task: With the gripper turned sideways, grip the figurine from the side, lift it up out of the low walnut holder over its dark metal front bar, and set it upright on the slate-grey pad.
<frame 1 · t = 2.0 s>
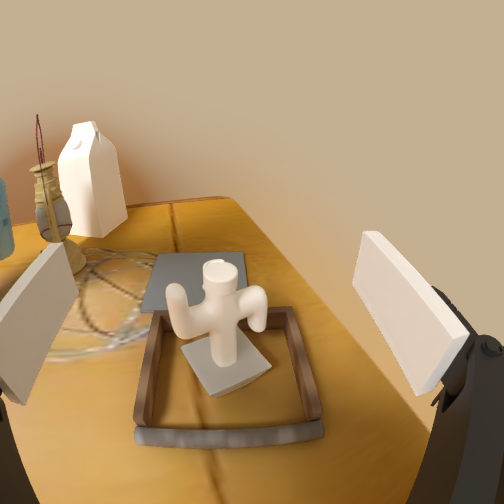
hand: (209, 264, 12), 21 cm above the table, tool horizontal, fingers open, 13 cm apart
lantern: (65, 267, 49), on the table
figurine: (225, 377, 31), resting in walnut holder
walnut holder: (225, 376, 31), on the table
milk: (98, 226, 65), on the table
slate pad: (197, 280, 47), on the table
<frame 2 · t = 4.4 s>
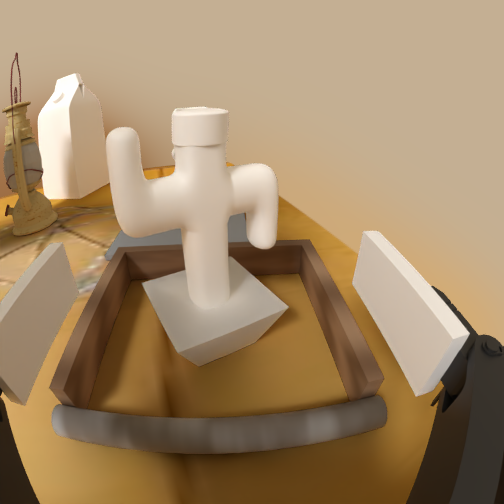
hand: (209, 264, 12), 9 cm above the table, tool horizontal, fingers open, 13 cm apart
lantern: (33, 225, 38), on the table
figurine: (213, 337, 20), resting in walnut holder
walnut holder: (213, 335, 20), on the table
milk: (78, 190, 55), on the table
slate pad: (183, 226, 37), on the table
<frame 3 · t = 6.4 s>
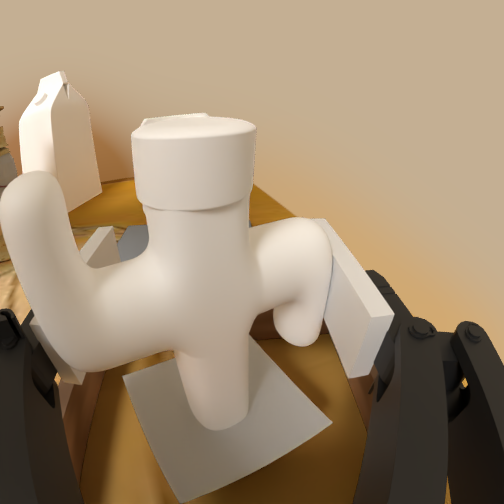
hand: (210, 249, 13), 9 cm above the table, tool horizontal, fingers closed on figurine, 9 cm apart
lantern: (12, 248, 32), on the table
figurine: (224, 437, 13), resting in walnut holder, touching gripper
walnut holder: (223, 436, 13), on the table
milk: (65, 203, 48), on the table
slate pad: (180, 258, 30), on the table
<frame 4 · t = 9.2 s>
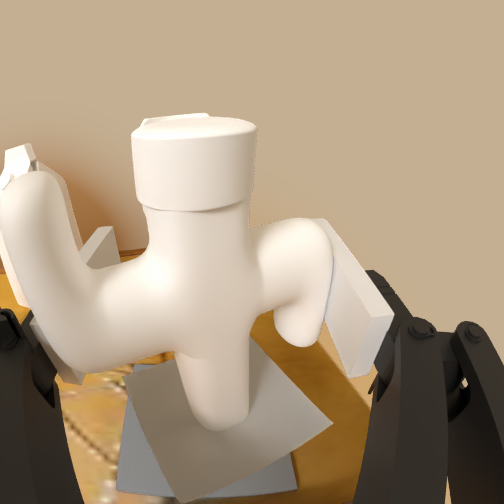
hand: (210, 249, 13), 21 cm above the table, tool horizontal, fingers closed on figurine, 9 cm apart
figurine: (224, 438, 13), point 12 cm above the table, touching gripper
milk: (55, 292, 42), on the table
slate pad: (201, 426, 24), on the table
when the fingers open (11 cm above the table, at t = 12.0 s): figurine drops 1 cm, resting on slate pad.
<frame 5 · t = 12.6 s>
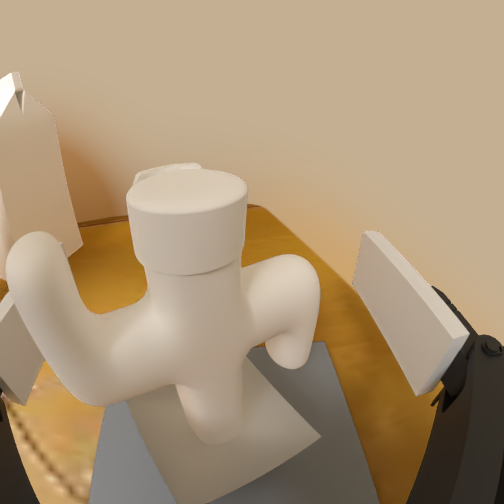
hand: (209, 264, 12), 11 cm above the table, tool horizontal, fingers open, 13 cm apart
figurine: (220, 448, 14), resting on slate pad
milk: (34, 261, 33), on the table
slate pad: (226, 448, 14), on the table
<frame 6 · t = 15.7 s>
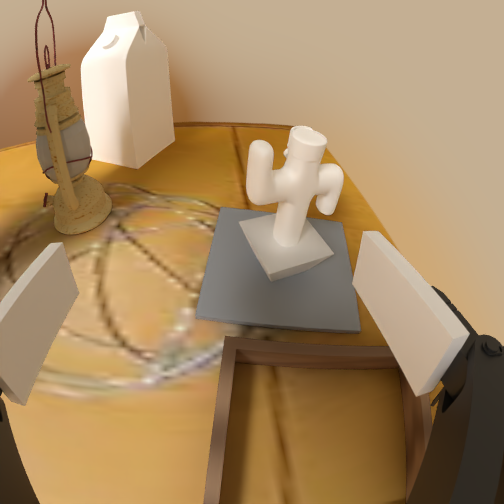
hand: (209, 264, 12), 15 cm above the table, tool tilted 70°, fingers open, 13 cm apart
lantern: (81, 214, 35), on the table
figurine: (279, 262, 32), resting on slate pad
walnut holder: (324, 448, 19), on the table
milk: (132, 149, 48), on the table
slate pad: (281, 264, 32), on the table
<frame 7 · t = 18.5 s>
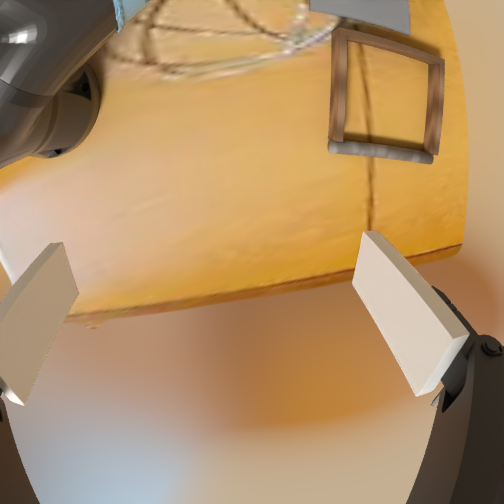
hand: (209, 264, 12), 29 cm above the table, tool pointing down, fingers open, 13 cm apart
walnut holder: (386, 96, 34), on the table
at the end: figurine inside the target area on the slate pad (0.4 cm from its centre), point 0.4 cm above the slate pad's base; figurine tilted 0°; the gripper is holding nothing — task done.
